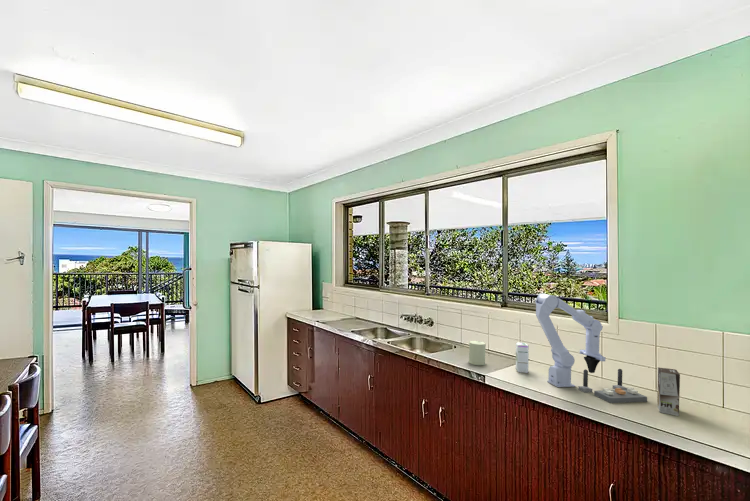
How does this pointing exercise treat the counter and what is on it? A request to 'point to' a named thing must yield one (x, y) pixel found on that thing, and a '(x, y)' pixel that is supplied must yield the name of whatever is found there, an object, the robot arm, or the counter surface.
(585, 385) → the grey peg stand
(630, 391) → the right paddle
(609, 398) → the switch panel
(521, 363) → the syrup box
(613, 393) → the left paddle
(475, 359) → the can
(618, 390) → the middle paddle
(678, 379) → the coffee box
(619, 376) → the grey post with base
